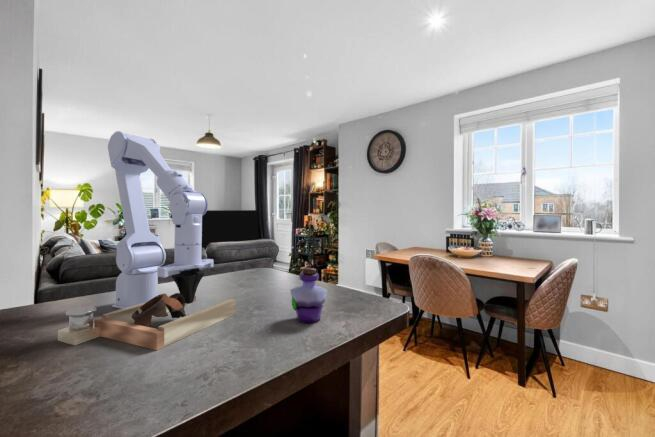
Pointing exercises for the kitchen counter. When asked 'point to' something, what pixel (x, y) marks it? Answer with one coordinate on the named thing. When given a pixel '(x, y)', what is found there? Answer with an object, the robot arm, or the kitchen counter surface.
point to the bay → (125, 330)
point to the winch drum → (79, 326)
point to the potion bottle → (308, 297)
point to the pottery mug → (160, 308)
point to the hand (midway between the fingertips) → (187, 302)
